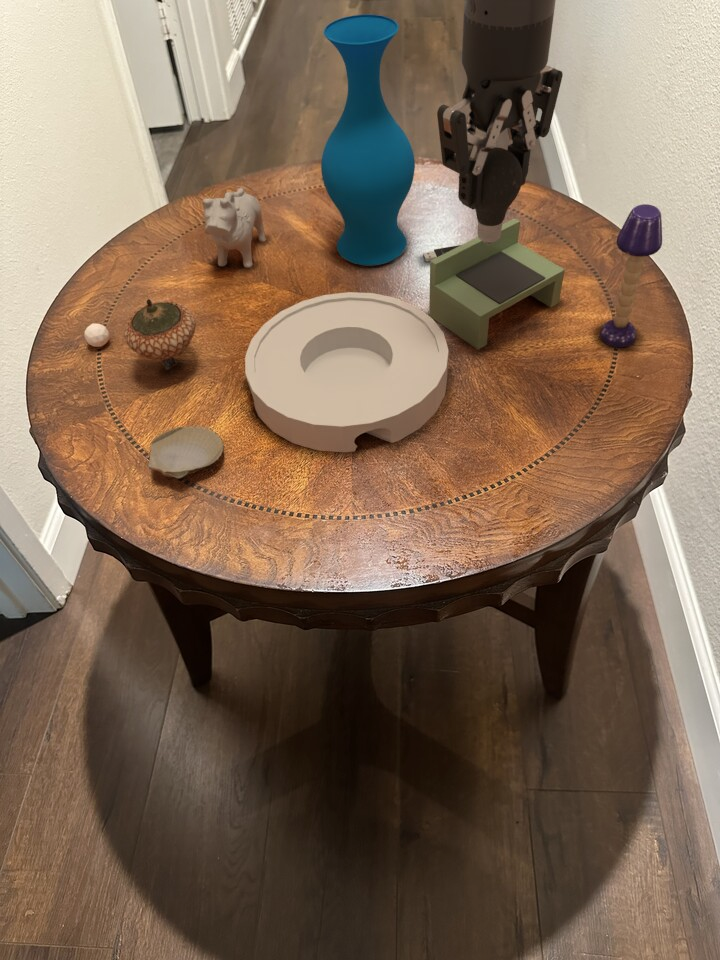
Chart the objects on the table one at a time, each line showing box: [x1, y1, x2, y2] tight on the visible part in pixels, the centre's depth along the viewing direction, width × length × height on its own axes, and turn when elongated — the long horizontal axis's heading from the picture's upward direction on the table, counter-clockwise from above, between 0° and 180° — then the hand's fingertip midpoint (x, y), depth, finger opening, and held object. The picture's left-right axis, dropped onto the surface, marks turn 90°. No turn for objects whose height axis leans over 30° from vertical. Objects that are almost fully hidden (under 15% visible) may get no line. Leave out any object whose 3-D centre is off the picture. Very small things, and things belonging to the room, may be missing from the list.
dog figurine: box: [202, 187, 267, 269], centre depth 102 cm, size 5×13×11 cm, turn 169°
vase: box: [320, 14, 416, 267], centre depth 94 cm, size 12×13×28 cm
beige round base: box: [244, 291, 449, 453], centre depth 86 cm, size 23×23×4 cm
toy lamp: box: [599, 203, 663, 348], centre depth 83 cm, size 5×5×17 cm
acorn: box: [123, 298, 197, 370], centre depth 87 cm, size 8×8×10 cm
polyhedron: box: [83, 322, 110, 348], centre depth 93 cm, size 3×3×3 cm
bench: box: [428, 217, 566, 351], centre depth 92 cm, size 14×9×8 cm, turn 127°
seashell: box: [147, 425, 225, 479], centre depth 80 cm, size 8×3×8 cm
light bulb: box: [472, 146, 523, 245], centre depth 76 cm, size 6×6×10 cm
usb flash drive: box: [422, 244, 462, 262], centre depth 102 cm, size 8×2×1 cm, turn 102°
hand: (493, 193), depth 75 cm, fingers closed on light bulb, 5 cm apart
